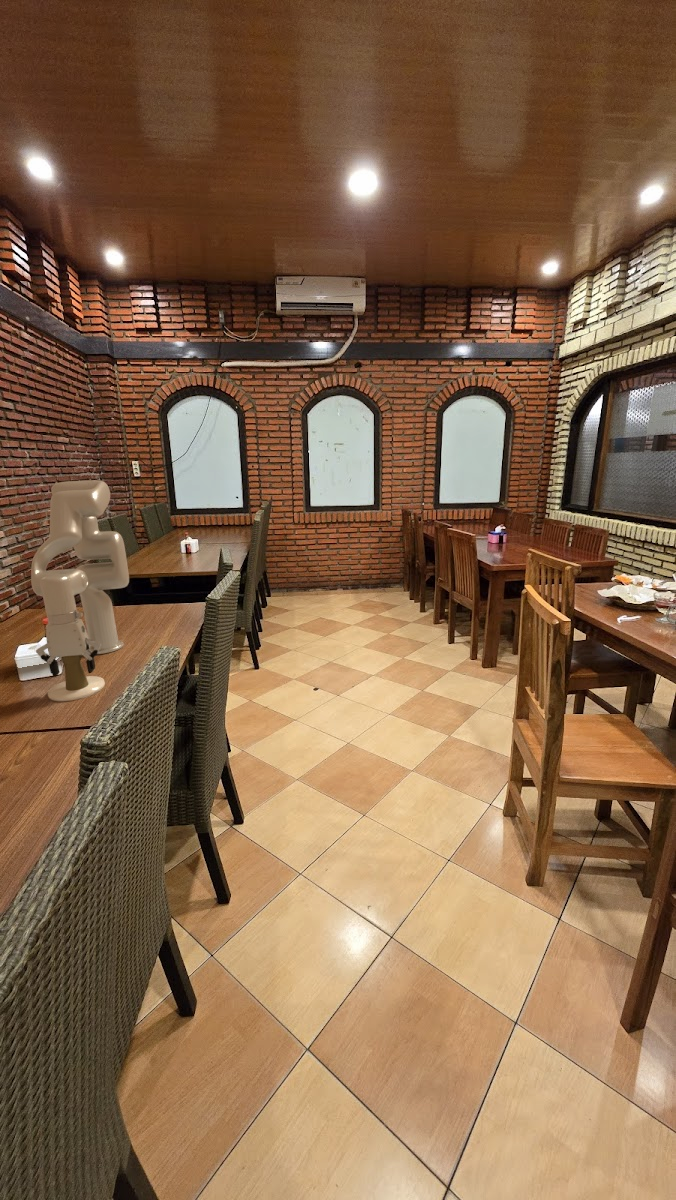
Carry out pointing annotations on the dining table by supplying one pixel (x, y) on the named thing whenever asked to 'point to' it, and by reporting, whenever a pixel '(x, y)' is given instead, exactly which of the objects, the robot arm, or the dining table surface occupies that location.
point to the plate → (62, 694)
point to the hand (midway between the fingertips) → (74, 673)
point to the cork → (74, 673)
